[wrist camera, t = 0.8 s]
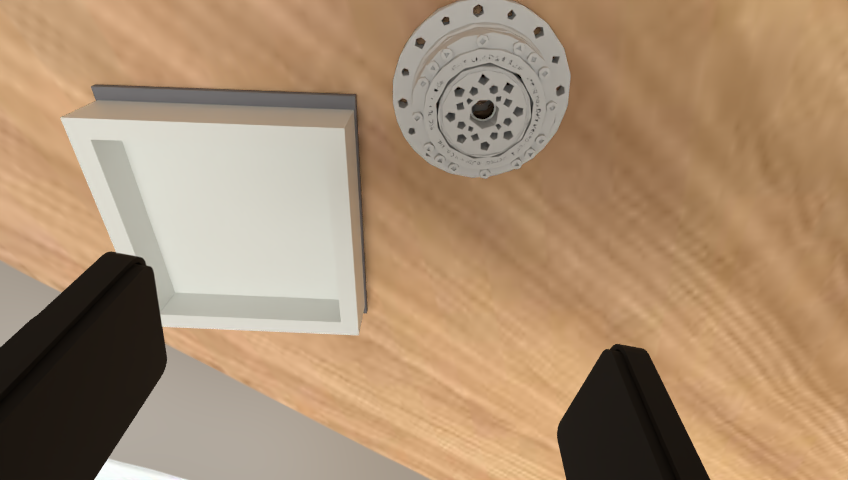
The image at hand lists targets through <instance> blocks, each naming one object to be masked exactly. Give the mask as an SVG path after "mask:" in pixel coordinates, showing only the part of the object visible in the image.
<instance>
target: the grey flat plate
mask: <svg viewBox="0 0 848 480" xmlns="http://www.w3.org/2000/svg"><path fill="white" fill-rule="evenodd" d="M91 88H92V91H93V94H94V96H95V99H96V101H97V100H108V101H134V102H160V103H187V104H213V105H239V106H266V107H292V108H318V109H345V110H354V120H355V138H356V156H357V173H358V191H359V209H360V226H361V244H362V262H363V279H364V297H365V308H364V313H367V293H366V275H365V256H364V237H363V218H362V199H361V181H360V162H359V143H358V124H357V106H356V94H331V93H304V92H278V91H251V90H225V89H198V88H172V87H145V86H118V85H93V86H91Z"/></svg>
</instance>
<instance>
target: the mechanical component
mask: <svg viewBox="0 0 848 480" xmlns="http://www.w3.org/2000/svg"><path fill="white" fill-rule="evenodd" d="M478 4H479V5H481V6H482V11H481V12H480V14H474V13H473V8H474V7H475V6H477V5H478ZM511 10H513V12H512V15H511V16H507V14H508V13H509V12H510V11H511ZM444 17H449V22H443V20H442V19H443V18H444ZM537 27H540V28H541V31H540V32H539V33H538V34H536V35H534V32H533V31H534V30H535V29H536V28H537ZM421 37H422V38H423V39H424V40H425V44H424V45H418V44H417V41H416V39H417V38H421ZM553 56H555V58H554V59H552V58H553ZM404 68H405V69H408V71H409V72H408V71H404ZM516 73H517V74H519V75H520V76H521V79H522V80H521V79H520V78H519V77H518V76H517V75H516ZM482 74H484V75H485V78H483V77H481V76H482ZM570 77H571V75H570V71H569V67H568V63H567V59H566V54H565V50H564V48H563V46H562V44H561V43H560V41H559V40H558V38H557V37H556V35H555V34H554V32H553V31H552V29H551V28H550V26H549V25H548V23H546V22H545V21H544V20H543V19H542V18H540V17H539V16H538V15H537V14H535V13H534V12H533V11H532V10H530V9H528V8H527V7H525V6H523V5H521V4H519V3H517V2H516V1H512V0H459V1H456V2H454V3H451V4H449V5H447V6H444V7H442V8H439V9H437V10H436V11H435V12H434V13H433V14H431V15H430V16H429V17H428V18H427V19H426V20H425V21H424V22H423V23H422V24H421V25H420V26H418V27H417V28H416V29H415V31H414V32H413V34H412V35H411V37H410V38H409V40H408V41H407V43H406V44H405V46H404V48H403V50H402V53H401V55H400V57H399V60H398V63H397V67H396V71H395V75H394V78H393V105H394V110H395V115H396V119H397V122H398V124H399V127H400V129H401V131H402V133H403V136H404V137H405V139H406V140H407V141H408V143H409V144H410V145H411V147H412V148H413V149H414V151H416V152H417V153H418V154H419V155H420V156H421V157H422V158H424V159H425V160H426V161H427V162H428V163H429V164H431V165H433V166H435V167H437V168H439V169H442V170H444V171H446V172H448V173H451V174H456V175H461V176H466V177H471V178H476V177H481V178H485V179H487V178H488V177H489V176H493V175H498V174H501V173H504V172H508V171H511V170H513V169H519V168H521V165H522V164H524V163H526V162H527V161H529V160H530V159H533V158H534V157H535V155H536V154H538V153H539V152H540V151H541V150H542V149H543V148H544V147H545V146H546V144H547V143H548V142H549V141H550V139H551V138H552V137H553V136H554V134H555V133H556V132H557V130H558V128H559V125H560V123H561V121H562V118H563V116H564V113H565V111H566V109H567V106H568V97H569V87H570ZM507 82H508V83H510V85H506V84H507ZM523 82H524V83H523ZM493 85H494V86H493ZM505 85H506V86H505ZM560 85H561V87H560V88H559V90H558V91H557V90H556V88H557V87H558V86H560ZM492 86H493V87H492ZM457 87H460V88H462V89H460V90H456V88H457ZM402 98H404V99H406V100H407V102H406V103H404V102H401V101H400V99H402ZM479 100H487V101H486V102H485V103H483V104H479V105H478V104H476V103H477V102H478V101H479ZM436 103H437V106H438V109H437V107H436ZM490 103H493V104H494V112H493V113H492V115H491V116H490V117H489V118H487V119H478V118H476V117H475V116H474V115H473V113H474V112H475V111H482V110H486V109H488V108H489V107H488V105H489V104H490ZM438 104H439V105H438ZM487 107H488V108H487ZM413 128H414V129H413Z"/></svg>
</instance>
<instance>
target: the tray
mask: <svg viewBox="0 0 848 480" xmlns="http://www.w3.org/2000/svg"><path fill="white" fill-rule="evenodd" d="M60 118H61V121H62V123H63V125H64V128H65V130H66V133H67V135H68V137H69V140H70V142H71V145H72V147H73V149H74V152H75V154H76V157H77V159H78V161H79V164H80V166H81V169H82V171H83V173H84V176H85V178H86V181H87V183H88V185H89V188H90V190H91V193H92V195H93V197H94V200H95V202H96V205H97V207H98V209H99V212H100V214H101V217H102V219H103V221H104V224H105V226H106V229H107V231H108V233H109V236H110V238H111V241H112V243H113V245H114V248H115V250H116V253H122V254H127V255H133V256H138V257H142V258H143V259H144V260H145V262H146V266H150V267H152V268H153V271H154V277H155V283H156V290H157V296H158V303H159V309H160V316H161V322H162V327H181V328H204V329H227V330H249V331H272V332H295V333H318V334H340V335H359V332H360V327H361V322H362V318H363V313H364V308H365V297H364V279H363V262H362V244H361V226H360V209H359V191H358V173H357V156H356V138H355V120H354V110H345V109H318V108H292V107H266V106H239V105H213V104H187V103H160V102H134V101H108V100H97V101H94V102H92V103H90V104H88V105H86V106H84V107H82V108H79V109H77V110H75V111H73V112H71V113H69V114H67V115H64V116H62V117H60Z"/></svg>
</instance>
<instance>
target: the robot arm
mask: <svg viewBox="0 0 848 480" xmlns="http://www.w3.org/2000/svg"><path fill="white" fill-rule="evenodd" d="M166 363H167V355H166V348H165V342H164V335H163V329H162V322H161V316H160V309H159V303H158V296H157V290H156V283H155V277H154V271H153V268H152V267H150V266H146V262H145V260H144V259H143V258H142V257H138V256H133V255H127V254H122V253H116V252H107V253H105V254H104V255H102V256H101V257H100V258H99V259H98V260H97V261H96V262H95V263H94V264H93V265H91V266H90V267H89V268H88V269H87V270H86V271H85V272H84V273H83V274H82V275H81V276H79V277H78V278H77V279H76V280H75V281H74V282H73V283H72V284H71V285H70V286H69V287H67V288H66V289H65V290H64V291H63V292H62V293H61V294H60V295H59V296H58V297H57V298H56V299H54V300H53V301H52V302H51V303H50V304H49V305H48V306H47V307H46V308H45V309H44V310H42V311H41V312H40V313H39V314H38V315H37V316H35V317H34V318H33V319H31V320H30V321H29V322H28V323H27V324H25V325H24V326H23V327H22V328H21V329H20V330H19V331H18V332H17V333H16V334H15V335H14V336H12V337H11V338H10V339H9V340H8V341H7V342H6V343H5V344H4V345H3V346H2V347H0V480H94V479H95V477H96V476H97V474H98V473H99V471H100V470H101V468H102V467H103V465H104V464H105V462H106V461H107V459H108V457H109V456H110V454H111V453H112V451H113V449H114V448H115V446H116V445H117V444H118V442H119V441H120V439H121V438H122V436H123V434H124V433H125V431H126V430H127V428H128V427H129V425H130V424H131V422H132V421H133V419H134V418H135V416H136V415H137V413H138V411H139V410H140V408H141V407H142V405H143V404H144V402H145V401H146V399H147V398H148V396H149V394H150V393H151V391H152V390H153V388H154V387H155V385H156V384H157V382H158V381H159V379H160V378H161V376H162V374H163V372H164V370H165V367H166ZM557 438H558V444H559V448H560V453H561V457H562V462H563V466H564V471H565V475H566V480H710V478H709V476H708V474H707V472H706V470H705V468H704V466H703V464H702V462H701V460H700V458H699V456H698V454H697V452H696V450H695V448H694V446H693V443H692V441H691V439H690V437H689V435H688V433H687V431H686V429H685V427H684V425H683V423H682V421H681V419H680V417H679V415H678V413H677V411H676V409H675V407H674V405H673V403H672V401H671V399H670V397H669V394H668V392H667V390H666V388H665V386H664V384H663V382H662V380H661V378H660V376H659V374H658V372H657V370H656V368H655V366H654V364H653V362H652V360H651V358H650V356H649V354H648V353H647V351H646V350H644V349H642V348H637V347H631V346H626V345H620V344H615V345H613V346H612V347H611V349H610V350H609V349H606V350H604V351H603V352H602V354H601V355H600V357H599V359H598V360H597V362H596V364H595V365H594V367H593V369H592V370H591V372H590V374H589V375H588V377H587V378H586V380H585V382H584V383H583V385H582V387H581V388H580V390H579V392H578V393H577V395H576V397H575V398H574V400H573V402H572V403H571V405H570V406H569V408H568V410H567V411H566V413H565V415H564V416H563V418H562V420H561V421H560V423H559V426H558V431H557Z"/></svg>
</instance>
